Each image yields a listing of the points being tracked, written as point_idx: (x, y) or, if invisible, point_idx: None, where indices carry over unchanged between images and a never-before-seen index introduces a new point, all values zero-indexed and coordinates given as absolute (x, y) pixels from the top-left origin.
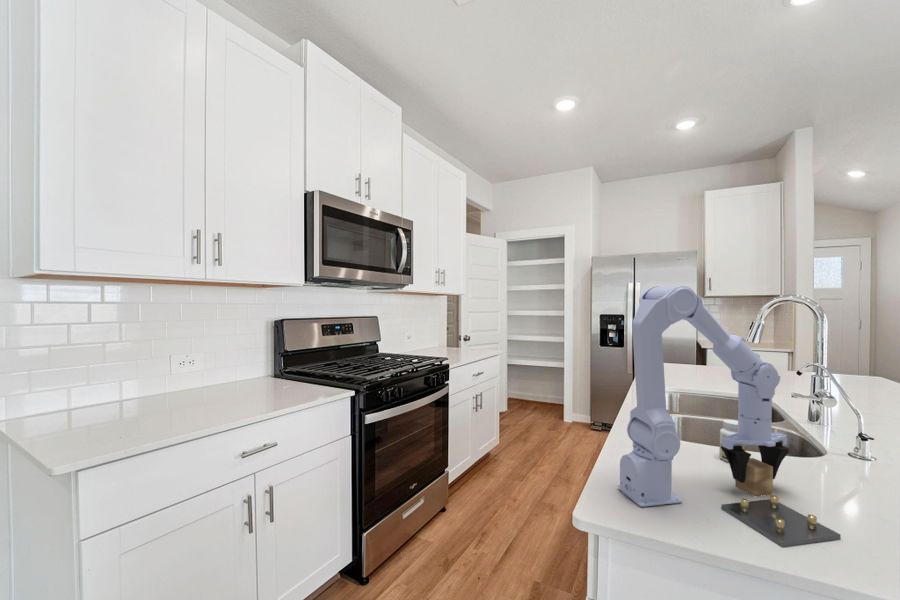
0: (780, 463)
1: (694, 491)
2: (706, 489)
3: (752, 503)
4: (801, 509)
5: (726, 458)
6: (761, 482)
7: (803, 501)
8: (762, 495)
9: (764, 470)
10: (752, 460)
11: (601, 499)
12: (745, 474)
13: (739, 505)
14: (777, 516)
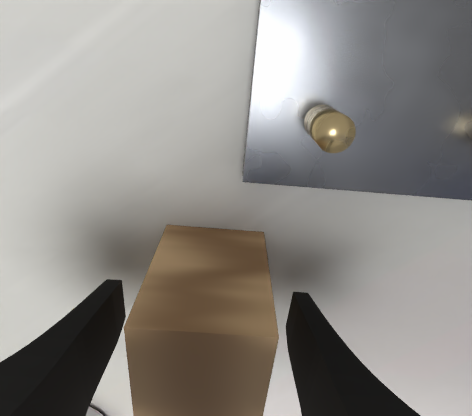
0: (34, 342)
1: (450, 312)
2: (389, 312)
3: (386, 174)
4: (163, 92)
5: None
6: (225, 267)
7: (77, 146)
8: (221, 229)
9: (199, 315)
10: (173, 401)
11: None
12: (307, 320)
13: (466, 177)
14: (417, 40)
